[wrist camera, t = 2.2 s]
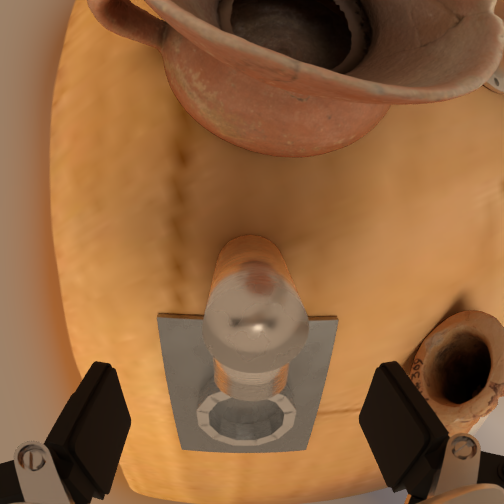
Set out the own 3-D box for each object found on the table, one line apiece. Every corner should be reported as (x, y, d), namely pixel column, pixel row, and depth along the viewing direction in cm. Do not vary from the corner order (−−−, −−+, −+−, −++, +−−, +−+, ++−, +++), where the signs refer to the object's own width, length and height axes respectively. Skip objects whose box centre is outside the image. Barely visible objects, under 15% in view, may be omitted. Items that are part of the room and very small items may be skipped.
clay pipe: (482, 289, 27) (425, 293, 21) (546, 324, 17) (523, 352, 12) (424, 407, 32) (351, 442, 26) (470, 448, 22) (403, 504, 16)
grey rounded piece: (216, 234, 20) (199, 282, 12) (286, 235, 20) (315, 284, 12) (217, 325, 22) (207, 403, 14) (279, 325, 22) (296, 403, 14)
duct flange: (158, 313, 22) (149, 332, 19) (336, 316, 22) (347, 334, 20) (182, 445, 27) (179, 464, 24) (305, 446, 27) (308, 464, 25)
